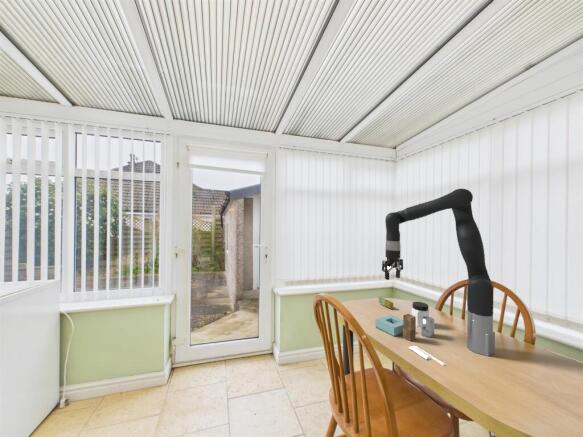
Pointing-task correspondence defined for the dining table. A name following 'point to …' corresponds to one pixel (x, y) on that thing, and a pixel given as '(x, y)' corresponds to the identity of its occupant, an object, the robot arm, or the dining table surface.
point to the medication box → (386, 302)
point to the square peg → (409, 327)
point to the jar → (419, 311)
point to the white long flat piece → (424, 354)
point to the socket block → (390, 325)
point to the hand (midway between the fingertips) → (392, 278)
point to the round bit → (427, 327)
